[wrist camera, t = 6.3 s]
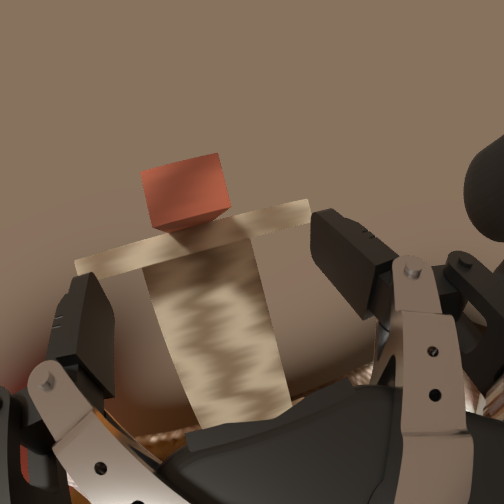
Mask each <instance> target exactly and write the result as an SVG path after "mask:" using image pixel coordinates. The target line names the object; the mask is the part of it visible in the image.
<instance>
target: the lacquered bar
mask: <svg viewBox="0 0 504 504" xmlns="http://www.w3.org/2000/svg"><path fill="white" fill-rule="evenodd" d="M140 173H141V178H142V183H143V188H144V192H145V197H146V202H147V206H148V211H149V215H150V219H151V223H152V227H153V228H155V229H158V230H161V231H164V232H167V233H170V232H174V231H177V230H181V229H185V228H188V227H192V226H196V225H200V224H204V223H208V222H211V221H213V220H214V219H216V218H217V217H218V216H219V215H221V214H222V213H224V212H225V211H226V210H228V209H229V208H230V207H231V203H230V200H229V195H228V192H227V187H226V184H225V180H224V175H223V172H222V167H221V163H220V160H219V155H218V153H214V154H210V155H205V156H200V157H196V158H192V159H188V160H183V161H179V162H175V163H171V164H167V165H164V166H160V167H156V168H152V169H149V170H145V171H141V172H140Z"/></svg>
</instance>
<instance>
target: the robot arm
mask: <svg viewBox="0 0 504 504" xmlns="http://www.w3.org/2000/svg"><path fill="white" fill-rule="evenodd" d="M464 203H465V208H466V211H467V214H468V217H469V219H470V220H471V222H472V224H473V225H474V226H475V227H476V229H477V230H478V231H479V232H480V233H481V234H483V235H484V236H486V237H487V238H489V239H491V240H493V241H497V242H504V135H503V136H501V137H500V138H499V139H497V140H496V141H494V142H493V143H492V144H490V145H489V146H487V147H486V148H484V149H483V150H482V151H480V152H479V153H478V154H477V155H476V156H475V157H474V159H473V160H472V162H471V164H470V166H469V168H468V170H467V173H466V177H465V182H464ZM310 237H311V238H310V239H311V241H310V250H311V255H312V258H313V260H314V262H315V264H316V265H317V266H318V267H319V268H320V270H321V271H322V272H323V273H324V274H325V276H326V277H327V278H328V279H329V280H330V281H331V283H332V284H333V285H334V286H335V287H336V289H337V290H338V291H339V292H340V293H341V294H342V296H343V297H344V298H345V299H346V301H347V302H348V303H349V304H350V305H351V307H352V308H353V309H354V310H355V311H356V313H357V314H358V315H359V316H360V318H361V319H362V320H366V319H368V318H370V317H372V316H375V317H376V318H377V322H376V331H375V332H376V333H375V349H374V363H373V371H372V376H371V379H370V383H369V385H356V386H352V384H351V383H350V381H349V379H348V378H347V377H346V378H344V379H342V380H340V381H338V382H336V383H334V384H331V385H329V386H327V387H325V388H322V389H320V390H318V391H315V392H313V393H311V394H309V395H308V396H306V397H305V398H304V399H302V400H301V401H300V402H298V403H297V404H295V405H294V406H292V407H291V408H289V409H288V410H287V411H285V412H284V413H282V414H281V415H279V416H278V417H276V418H273V419H269V420H260V421H249V422H236V423H224V424H221V425H217V426H213V427H210V428H206V429H202V430H198V431H193V432H189V433H185V437H186V441H187V444H186V445H184V446H182V447H180V448H179V449H177V450H176V451H174V452H173V453H172V454H170V455H169V456H168V457H167V458H166V459H165V460H164V461H163V462H161V461H160V460H159V459H157V458H156V457H155V456H154V455H152V454H151V453H150V452H149V451H147V450H146V449H145V448H144V447H142V446H141V445H140V444H139V443H138V442H137V441H136V440H135V439H134V438H133V437H132V436H131V435H130V434H129V433H128V432H127V431H126V430H124V428H123V427H122V426H121V425H120V424H119V423H118V422H117V421H116V420H115V419H114V418H113V417H112V416H111V415H110V414H109V413H108V412H107V410H105V409H104V399H108V398H114V397H115V384H114V325H115V318H114V313H113V309H112V307H111V304H110V302H109V300H108V299H107V297H106V295H105V293H104V291H103V289H102V287H101V285H100V283H99V281H98V279H97V277H96V276H95V274H94V273H93V272H89V273H86V274H83V275H79V276H76V277H74V278H73V279H72V282H71V285H70V289H69V292H68V294H65V295H64V297H63V298H62V300H61V301H60V303H59V304H58V306H57V309H56V313H55V319H54V321H53V326H52V327H53V329H52V330H51V335H50V339H49V344H48V350H47V355H46V360H45V361H44V362H42V363H40V364H39V365H38V366H36V368H35V369H34V370H33V371H32V373H31V374H30V377H29V380H28V387H26V388H25V389H23V390H21V391H19V392H17V393H15V394H13V395H12V394H11V393H10V392H9V391H8V390H7V389H5V388H4V387H1V386H0V504H72V503H71V497H70V492H69V486H68V479H67V473H68V474H69V476H70V477H71V478H72V480H73V481H74V482H75V484H76V485H77V486H78V487H79V489H80V490H81V491H82V492H83V494H84V495H85V496H86V497H87V499H88V500H89V501H90V502H91V503H92V504H504V260H503V261H502V262H501V264H500V265H499V266H498V267H497V268H496V270H495V271H494V273H492V272H491V271H490V270H488V269H487V268H486V267H485V266H484V265H483V264H482V263H481V262H479V261H478V260H477V259H476V258H475V257H474V256H472V255H470V254H468V253H466V252H462V251H453V252H451V253H450V254H449V255H448V258H447V261H446V264H445V265H439V266H430V265H429V264H428V263H427V262H425V261H424V260H423V259H421V258H418V257H415V256H409V255H406V256H399V255H397V254H396V253H395V252H394V251H393V250H391V249H390V248H389V247H388V246H387V245H385V244H384V243H383V242H382V241H381V240H379V239H378V238H377V237H376V238H375V236H374V235H373V234H372V233H371V232H368V230H367V229H366V228H365V227H363V226H362V225H361V224H359V223H358V222H355V221H353V220H350V219H348V218H344V217H343V216H342V215H340V214H339V213H338V212H336V211H335V210H334V209H332V208H330V209H326V210H322V211H318V212H314V213H312V215H311V234H310ZM468 301H469V302H470V303H471V304H472V305H473V306H474V307H475V308H476V309H477V310H478V311H479V312H480V313H481V314H482V315H483V316H484V318H485V319H486V322H487V330H486V332H485V334H484V335H483V334H482V333H481V332H480V331H479V329H478V328H477V327H476V326H475V325H474V324H473V323H472V321H471V320H470V319H469V318H468V317H467V316H466V315H465V314H464V313H463V310H464V308H465V306H466V304H467V302H468ZM462 368H463V369H464V371H465V372H466V373H467V375H468V376H469V377H470V379H471V380H472V381H473V383H474V384H475V386H476V387H477V388H478V390H479V391H480V395H479V400H478V405H477V409H476V414H474V413H471V412H467V411H465V393H464V381H463V372H462ZM20 445H22V446H24V447H25V448H27V451H28V469H29V482H30V484H29V483H28V482H27V481H26V480H25V479H24V478H23V475H22V473H21V464H20ZM66 471H67V472H66Z"/></svg>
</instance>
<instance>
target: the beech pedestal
mask: <svg viewBox="0 0 504 504" xmlns="http://www.w3.org/2000/svg"><path fill="white" fill-rule="evenodd" d="M311 215H312V214H311V210H310V206H309V203H308V199H303V200H299V201H295V202H290V203H286V204H281V205H277V206H273V207H268V208H264V209H260V210H256V211H251V212H247V213H243V214H239V215H235V216H231V217H227V218H223V219H220V220H215V221H211V222H208V223H204V224H200V225H196V226H192V227H188V228H185V229H181V230H177V231H174V232H170V233H166V234H163V235H159V236H156V237H152V238H149V239H145V240H142V241H138V242H134V243H131V244H128V245H124V246H121V247H117V248H114V249H111V250H107V251H104V252H101V253H98V254H94V255H91V256H88V257H85V258H81V259H78V260H75V261H74V263H75V266H76V270H77V274H78V276H79V275H83V274H86V273H89V272H93V273H94V274H95V276H96V277H97V279H98V280H99V279H102V278H106V277H110V276H113V275H117V274H120V273H124V272H127V271H131V270H134V269H138V268H142V270H143V274H144V277H145V280H146V284H147V287H148V291H149V294H150V297H151V300H152V303H153V306H154V310H155V313H156V316H157V319H158V321H159V325H160V328H161V330H162V333H163V336H164V339H165V341H166V344H167V347H168V350H169V352H170V355H171V357H172V360H173V363H174V365H175V368H176V371H177V373H178V375H179V378H180V380H181V383H182V385H183V388H184V390H185V392H186V395H187V397H188V399H189V402H190V404H191V406H192V408H193V410H194V413H195V415H196V417H197V419H198V422H199V424H200V426H201V428H202V429H206V428H210V427H213V426H217V425H221V424H224V423H236V422H249V421H260V420H269V419H273V418H276V417H278V416H279V415H281V414H282V413H284V412H285V411H287V410H288V409H289V408H291V407H292V406H294V405H295V404H297V403H298V402H300V401H301V400H302V399H304V397H303V398H300V399H298V400H295V401H292V402H291V398H290V394H289V390H288V387H287V383H286V379H285V374H284V370H283V367H282V362H281V359H280V354H279V351H278V347H277V343H276V339H275V335H274V331H273V327H272V323H271V319H270V315H269V311H268V307H267V303H266V299H265V295H264V291H263V287H262V283H261V279H260V275H259V272H258V267H257V263H256V260H255V256H254V252H253V248H252V244H251V240H250V238H252V237H255V236H259V235H263V234H267V233H270V232H274V231H278V230H282V229H286V228H290V227H294V226H298V225H302V224H305V223H309V222H311Z"/></svg>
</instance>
